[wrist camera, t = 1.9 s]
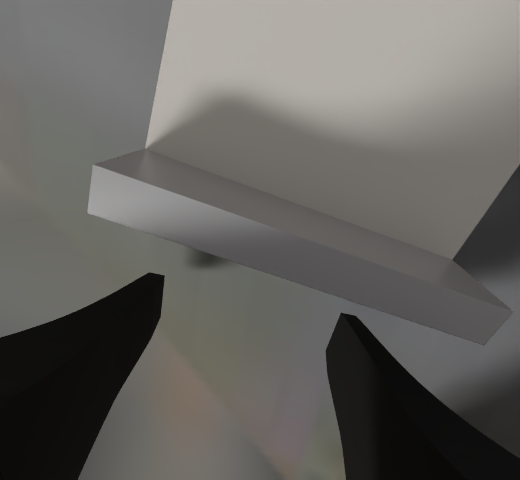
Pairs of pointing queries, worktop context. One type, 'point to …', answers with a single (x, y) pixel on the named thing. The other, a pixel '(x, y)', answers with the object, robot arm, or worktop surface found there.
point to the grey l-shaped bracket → (333, 146)
